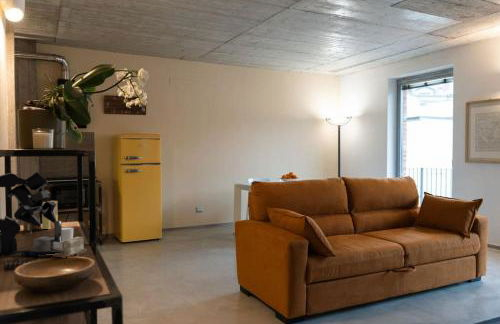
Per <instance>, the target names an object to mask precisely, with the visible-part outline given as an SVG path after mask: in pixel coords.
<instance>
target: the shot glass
mask: <svg viewBox="0 0 500 324" xmlns="http://www.w3.org/2000/svg"><path fill="white" fill-rule="evenodd" d="M74 229H75V228H74V227H70V226H69V227H62V241H65V240H68V239H72V238H74Z"/></svg>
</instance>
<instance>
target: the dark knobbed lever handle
mask: <svg viewBox="0 0 500 324" xmlns="http://www.w3.org/2000/svg"><path fill="white" fill-rule="evenodd" d="M62 228H63V227H62V220H58V221H54V229H53V231H54V232H53V235H54V236H53V237H54V240H53V241H51V249H61V250H64V241H62Z"/></svg>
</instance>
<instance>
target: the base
mask: <svg viewBox="0 0 500 324" xmlns="http://www.w3.org/2000/svg"><path fill="white" fill-rule="evenodd" d="M53 240H54V236H52V237H51V236H40V237H36V238H34V239H33V249H32V250H30V251H62V252H61V253H55V254H46V255H53V256H70V255H74V254H78V253H81V254H83V253H86V252H88V249H87V248H85V247H84V246H85V244H84V241H85V240H84V236H75V237H73V238H72V239H68V240H65V241H64V250H61V249H51V241H53ZM78 255H79V254H78Z"/></svg>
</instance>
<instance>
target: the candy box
mask: <svg viewBox="0 0 500 324" xmlns="http://www.w3.org/2000/svg"><path fill="white" fill-rule="evenodd" d="M53 201H54V202H55V203H56V206H55V208H54V210H53V211H54V215H55V218H56V221H59V220H58V218H59V215H58V214H59V211H58V209H59V208H58V207H59V206H58V200H53ZM45 202H46V201H45ZM45 202H44V201H43V203H42V204H41V206H43V205H44V204H45ZM47 202H49V201H47ZM41 221H42V222H41V227H42V228H41V230H42V229H51V228H54V223H53V222H51V221H50V220H48V219H47V218H45V217H44V216H43V214H41ZM51 230H52V229H51Z"/></svg>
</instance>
